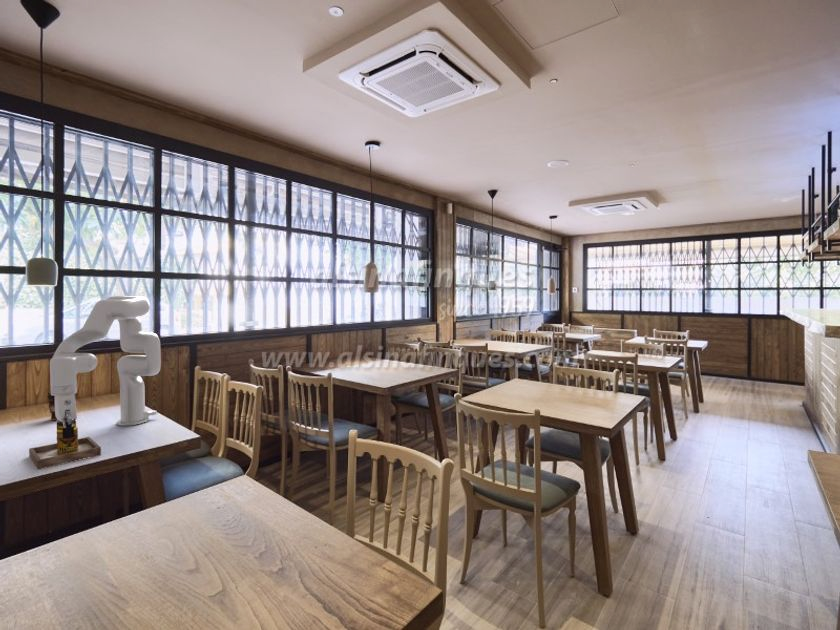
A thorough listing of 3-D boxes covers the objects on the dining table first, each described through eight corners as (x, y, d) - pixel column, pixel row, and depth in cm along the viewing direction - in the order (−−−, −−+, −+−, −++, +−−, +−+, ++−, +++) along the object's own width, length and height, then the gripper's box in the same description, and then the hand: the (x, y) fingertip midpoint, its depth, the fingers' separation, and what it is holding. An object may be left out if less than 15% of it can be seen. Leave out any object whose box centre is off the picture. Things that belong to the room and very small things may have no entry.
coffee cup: (43, 420, 202) (42, 392, 202) (62, 415, 210) (62, 389, 209) (55, 422, 199) (54, 394, 199) (74, 417, 207) (74, 391, 206)
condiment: (67, 456, 157) (66, 424, 156) (46, 455, 158) (45, 423, 157) (84, 449, 164) (84, 418, 164) (64, 448, 165) (64, 417, 165)
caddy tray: (89, 444, 173) (89, 436, 173) (101, 455, 162) (100, 447, 162) (29, 456, 159) (29, 448, 159) (37, 469, 148) (37, 460, 148)
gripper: (82, 391, 156) (83, 437, 157) (71, 384, 168) (72, 427, 169) (55, 395, 151) (57, 443, 152) (46, 387, 162) (47, 431, 163)
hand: (65, 434), depth 160 cm, fingers open, 9 cm apart
